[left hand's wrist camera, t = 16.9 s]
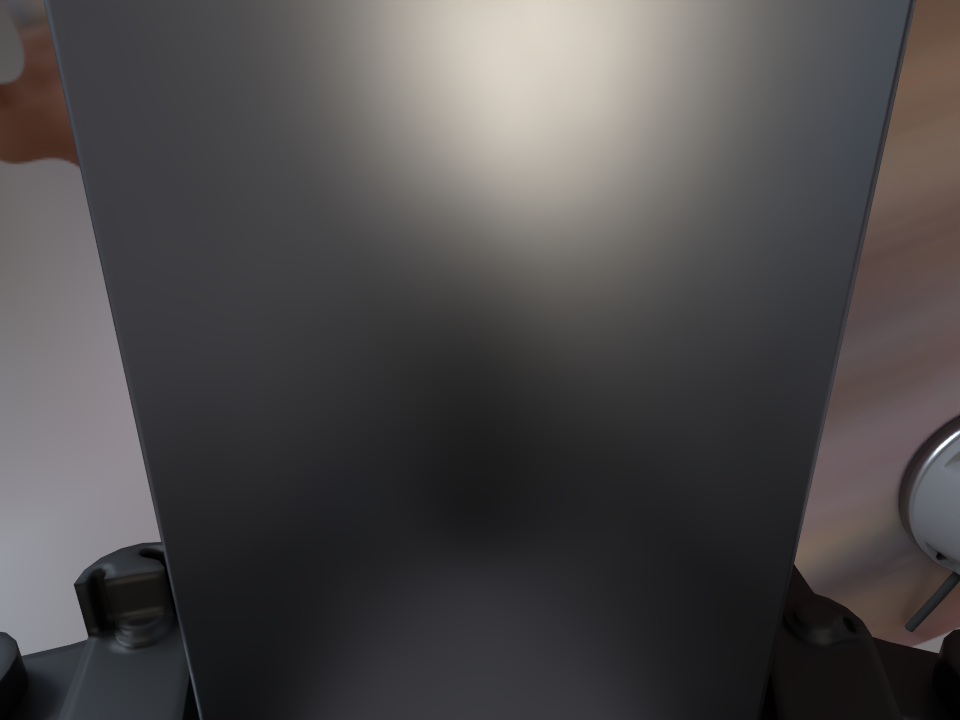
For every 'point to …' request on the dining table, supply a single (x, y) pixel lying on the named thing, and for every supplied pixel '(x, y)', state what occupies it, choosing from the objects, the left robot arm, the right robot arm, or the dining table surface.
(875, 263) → the dining table surface
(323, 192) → the bar
